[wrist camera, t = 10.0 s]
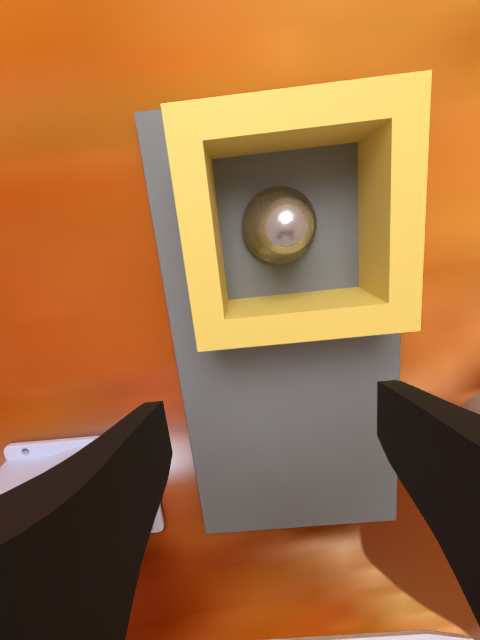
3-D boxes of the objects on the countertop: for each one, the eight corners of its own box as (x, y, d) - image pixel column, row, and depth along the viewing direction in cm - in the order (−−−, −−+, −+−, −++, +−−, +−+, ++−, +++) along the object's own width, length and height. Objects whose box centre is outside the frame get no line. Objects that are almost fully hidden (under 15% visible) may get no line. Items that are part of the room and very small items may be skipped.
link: (206, 326, 19) (197, 352, 15) (179, 131, 16) (160, 103, 13) (384, 308, 19) (420, 330, 15) (386, 106, 16) (431, 69, 12)
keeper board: (207, 521, 24) (206, 534, 23) (140, 118, 17) (133, 112, 16) (389, 508, 24) (395, 520, 23) (397, 86, 17) (407, 77, 16)
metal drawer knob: (245, 266, 18) (245, 279, 14) (237, 191, 17) (235, 180, 13) (315, 258, 18) (338, 269, 14) (312, 182, 17) (335, 169, 13)
